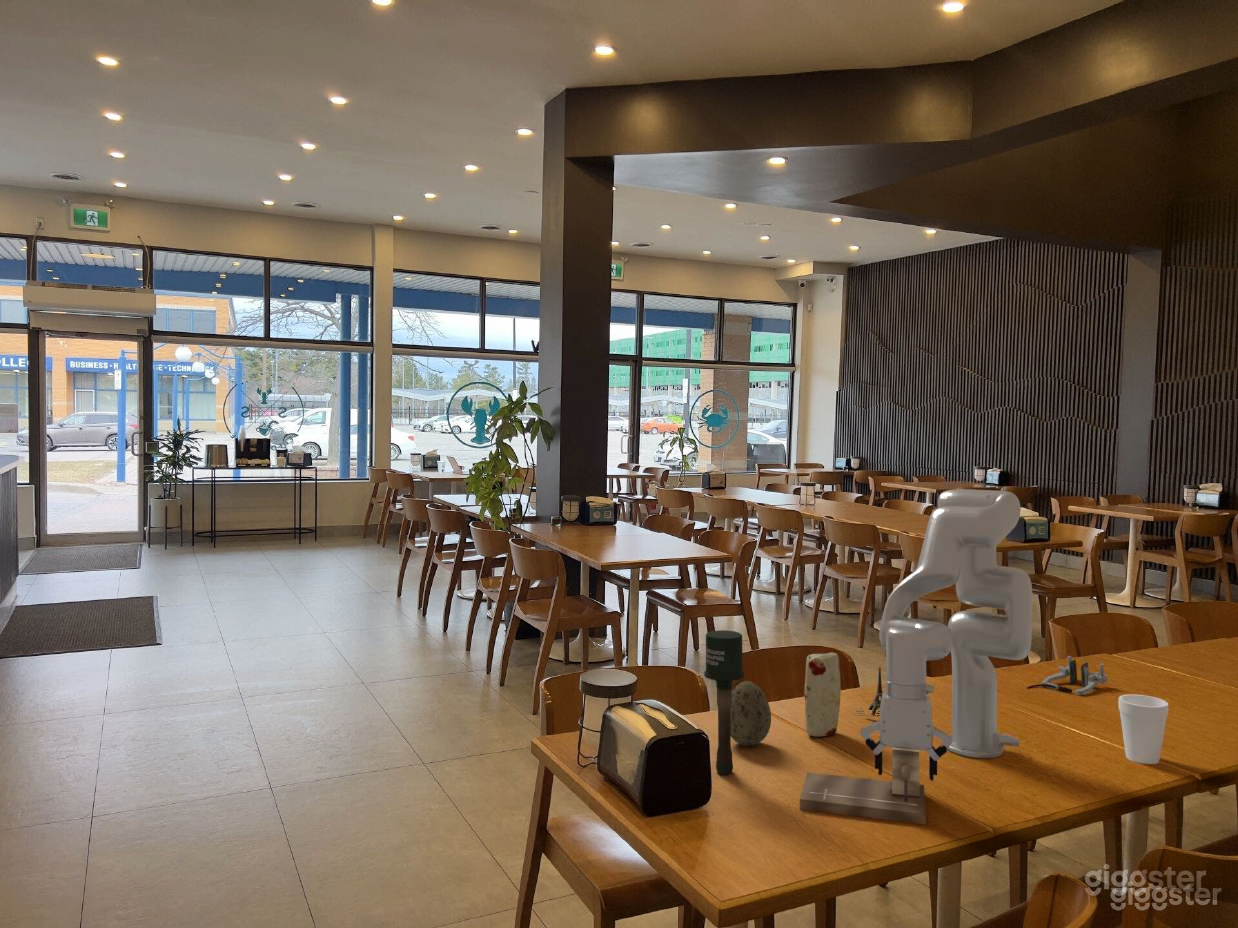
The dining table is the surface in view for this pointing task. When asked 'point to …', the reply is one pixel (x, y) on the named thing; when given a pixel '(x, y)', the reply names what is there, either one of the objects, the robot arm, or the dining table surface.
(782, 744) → the dining table surface
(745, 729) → the decorative egg
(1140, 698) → the foam cup
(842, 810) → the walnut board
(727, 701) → the stick grenade
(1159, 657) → the dining table surface
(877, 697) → the eiffel tower figurine
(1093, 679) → the bike brake
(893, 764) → the block
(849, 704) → the dining table surface
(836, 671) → the food model
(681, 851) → the dining table surface
